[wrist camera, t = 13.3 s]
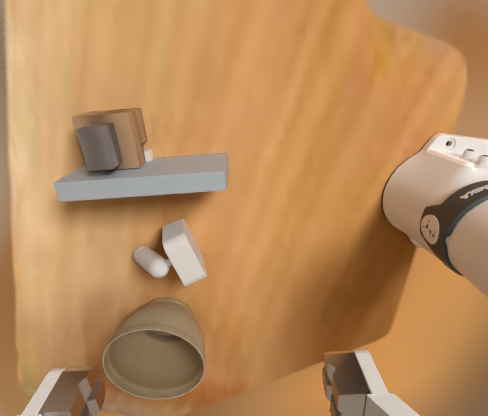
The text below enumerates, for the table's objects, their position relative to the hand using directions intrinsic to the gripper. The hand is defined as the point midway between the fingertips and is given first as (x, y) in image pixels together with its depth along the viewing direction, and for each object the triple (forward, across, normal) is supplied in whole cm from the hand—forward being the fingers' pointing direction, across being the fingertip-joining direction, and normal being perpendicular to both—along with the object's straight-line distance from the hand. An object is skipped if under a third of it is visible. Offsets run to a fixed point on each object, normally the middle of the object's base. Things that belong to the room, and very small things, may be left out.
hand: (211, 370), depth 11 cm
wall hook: (+37, +12, +16) cm, 42 cm away
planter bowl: (+37, +15, +32) cm, 51 cm away
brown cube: (+37, +16, -2) cm, 40 cm away
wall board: (+37, +11, +2) cm, 39 cm away
